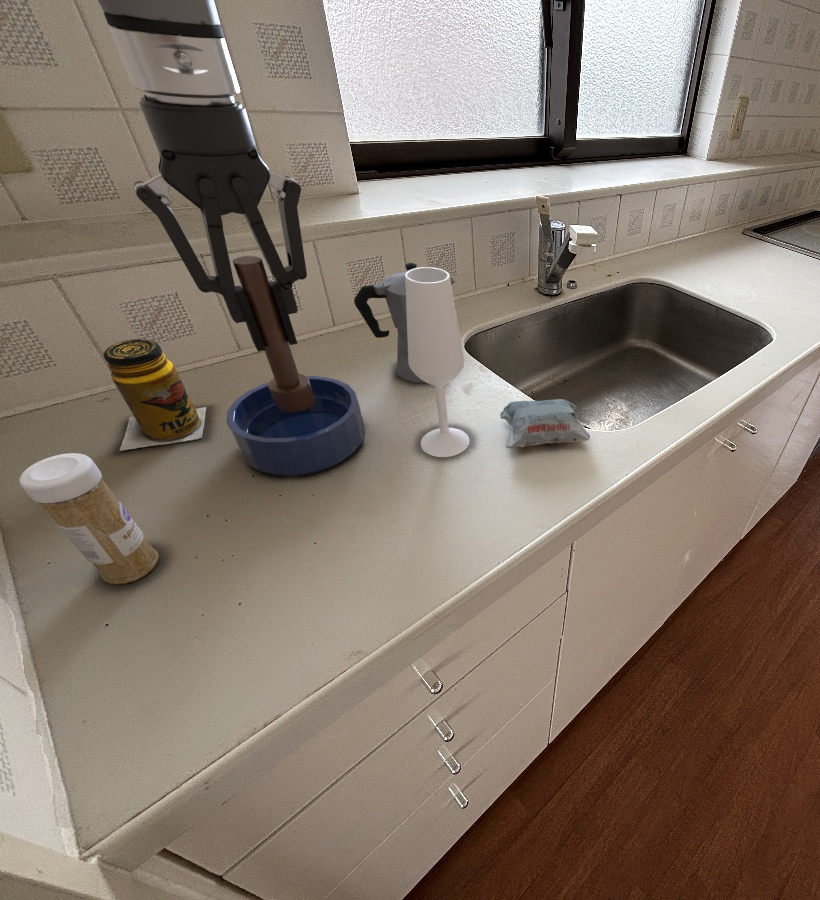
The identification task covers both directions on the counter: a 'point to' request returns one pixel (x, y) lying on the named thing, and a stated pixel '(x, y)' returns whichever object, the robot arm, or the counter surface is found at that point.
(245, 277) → the muddler
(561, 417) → the packaged food
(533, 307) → the counter surface
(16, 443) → the counter surface
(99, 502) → the sprinkles bottle
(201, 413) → the condiment
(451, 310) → the champagne flute
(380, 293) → the coffeepot
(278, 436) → the bowl
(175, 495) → the counter surface
